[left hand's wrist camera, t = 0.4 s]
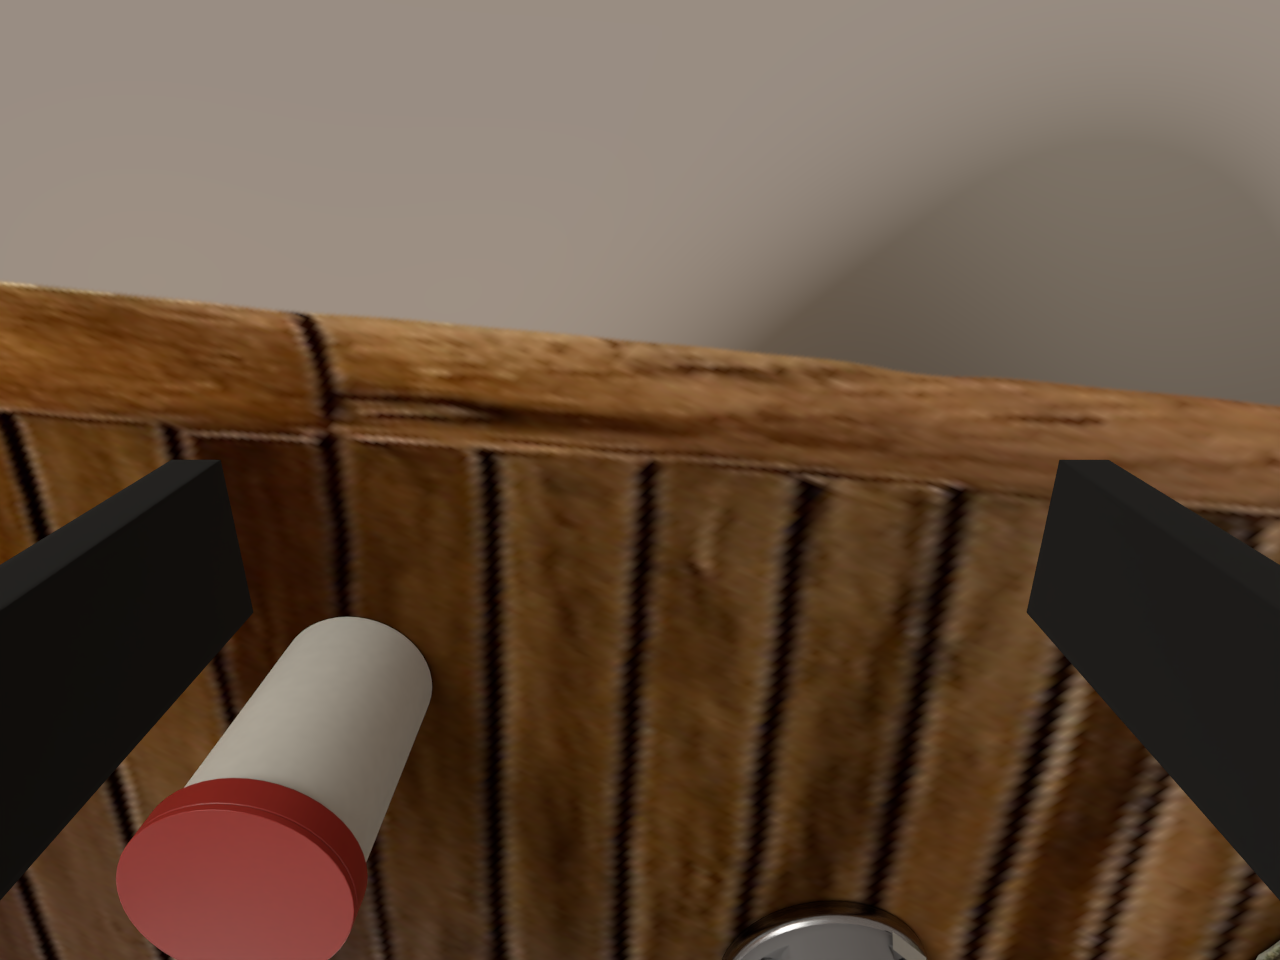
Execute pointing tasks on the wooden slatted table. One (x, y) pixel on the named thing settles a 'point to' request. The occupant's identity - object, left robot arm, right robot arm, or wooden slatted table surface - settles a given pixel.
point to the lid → (242, 874)
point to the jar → (332, 721)
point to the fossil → (1271, 953)
